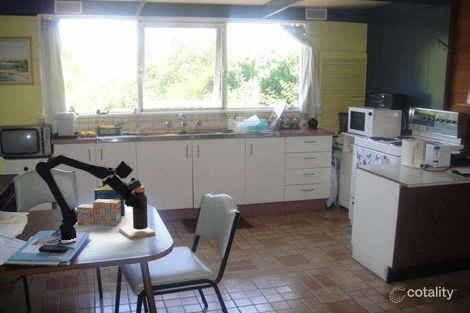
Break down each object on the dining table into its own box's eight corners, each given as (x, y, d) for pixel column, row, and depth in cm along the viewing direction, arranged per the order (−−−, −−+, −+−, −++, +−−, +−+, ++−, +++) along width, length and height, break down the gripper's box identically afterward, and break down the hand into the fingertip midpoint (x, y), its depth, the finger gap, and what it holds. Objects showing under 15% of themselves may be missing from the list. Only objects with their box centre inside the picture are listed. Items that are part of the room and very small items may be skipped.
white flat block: (131, 239, 213) (131, 236, 212) (119, 230, 226) (119, 227, 226) (155, 234, 219) (155, 231, 219) (142, 226, 232) (142, 223, 232)
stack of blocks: (77, 224, 236) (75, 201, 234) (82, 221, 242) (81, 198, 241) (116, 226, 233) (115, 202, 232) (121, 222, 240) (120, 199, 238)
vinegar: (136, 230, 214) (135, 188, 211) (130, 227, 220) (129, 186, 217) (150, 228, 218) (149, 187, 215) (144, 224, 224) (142, 184, 221)
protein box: (97, 213, 257) (95, 185, 255) (125, 211, 260) (124, 184, 258) (95, 218, 247) (93, 190, 245) (124, 216, 250) (123, 188, 248)
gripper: (131, 177, 205) (157, 199, 210) (129, 169, 223) (152, 191, 227) (114, 195, 204) (140, 217, 209) (112, 186, 222) (136, 207, 226)
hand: (142, 207), depth 218 cm, fingers closed on vinegar, 7 cm apart
